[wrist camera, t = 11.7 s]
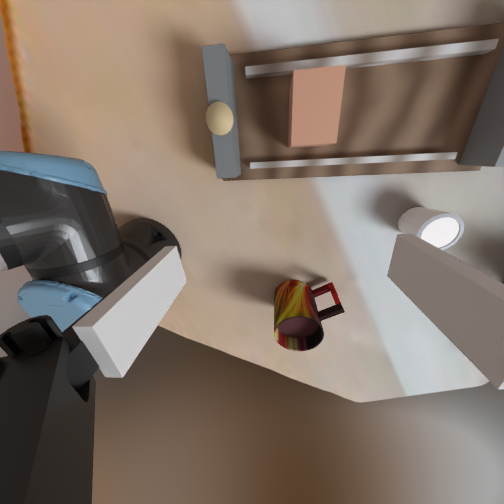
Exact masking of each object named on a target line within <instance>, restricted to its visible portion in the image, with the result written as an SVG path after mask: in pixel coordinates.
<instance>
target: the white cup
mask: <svg viewBox="0 0 504 504" xmlns="http://www.w3.org/2000/svg"><path fill="white" fill-rule="evenodd" d="M398 228H399V230H400V231H401V232H402V233H403V234H413V235H415V236H417V237H419V238H421V239H422V240H424V241H426V242H428V243H430V244H432V245H433V246H435V247H437V248H439V249H441V250H445V249H447V248H449V247H450V246H452V245H453V244H455V243H456V242H457V241H458V240H459V238H460V237H461V236H462V233H463V231H464V221H463V220H462V219H461V218H460V216H458V215H455V214H452V213H448V212H443V211H438V210H433V209H428V208H423V207H414V208H411V209H409V210H407V211H406V212H404V213H403V214H402V215H401V217H400V218H399V221H398Z"/></svg>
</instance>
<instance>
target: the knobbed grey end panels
mask: <svg viewBox="0 0 504 504" xmlns="http://www.w3.org/2000/svg"><path fill="white" fill-rule="evenodd" d="M202 55H203V63H204V71H205V80H206V88H207V97H208V105H209V107H208V109H207V111H206V123H207V126H208V128H209V129H210V131H211V132H212V139H213V147H214V156H215V164H216V172H217V178H235V177H237V176H239V175H241V167H240V153H239V138H238V124H237V109H236V94H235V80H234V65H233V62H232V59H231V57H230V55H229V53H228V51H227V48H226V46H225V44H217V45H209V46H202ZM459 165H471V166H491V167H499V166H504V46H503V49H502V52H501V54H500V57H499V59H498V62H497V65H496V67H495V70H494V73H493V75H492V78H491V81H490V83H489V86H488V89H487V91H486V94H485V97H484V99H483V102H482V105H481V107H480V110H479V113H478V115H477V118H476V121H475V123H474V126H473V129H472V131H471V134H470V136H469V139H468V142H467V144H466V147H465V150H464V152H463V155H462V158H461V160H460V163H459Z"/></svg>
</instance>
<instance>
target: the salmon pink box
mask: <svg viewBox="0 0 504 504" xmlns="http://www.w3.org/2000/svg"><path fill="white" fill-rule="evenodd" d="M345 70H346V65H339V66H330V67H320V68H311V69H301V70H294V71H293V76H292V81H291V85H290V90H289V126H288V148H295V147H312V146H325V145H330V144H335V143H337V135H338V127H339V119H340V110H341V102H342V94H343V86H344V78H345Z"/></svg>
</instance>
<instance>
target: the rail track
mask: <svg viewBox="0 0 504 504" xmlns="http://www.w3.org/2000/svg"><path fill="white" fill-rule="evenodd" d="M503 46H504V23H497V24H489V25H480V26H472V27H463V28H455V29H447V30H438V31H430V32H421V33H413V34H404V35H396V36H387V37H379V38H371V39H362V40H354V41H345V42H337V43H328V44H320V45H311V46H303V47H295V48H286V49H278V50H269V51H261V52H252V53H244V54H235V55H230V57H231V59H232V62H233V65H234V80H235V94H236V109H237V124H238V138H239V153H240V167H241V175H239V176H237V177H235V178H223V180H224V181H231V180H256V179H280V178H305V177H330V176H354V175H379V174H403V173H428V172H453V171H477V170H480V168H481V166H471V165H459V163H460V160H461V158H462V155H463V152H464V150H465V147H466V144H467V142H468V139H469V136H470V134H471V131H472V129H473V126H474V123H475V121H476V118H477V115H478V113H479V110H480V107H481V105H482V102H483V99H484V97H485V94H486V91H487V89H488V86H489V83H490V81H491V78H492V75H493V73H494V70H495V67H496V65H497V62H498V59H499V57H500V54H501V52H502V49H503ZM339 65H346V70H345V78H344V86H343V94H342V102H341V110H340V119H339V127H338V135H337V143H335V144H330V145H325V146H312V147H295V148H288V126H289V90H290V85H291V81H292V76H293V71H294V70H301V69H311V68H320V67H330V66H339Z"/></svg>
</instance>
